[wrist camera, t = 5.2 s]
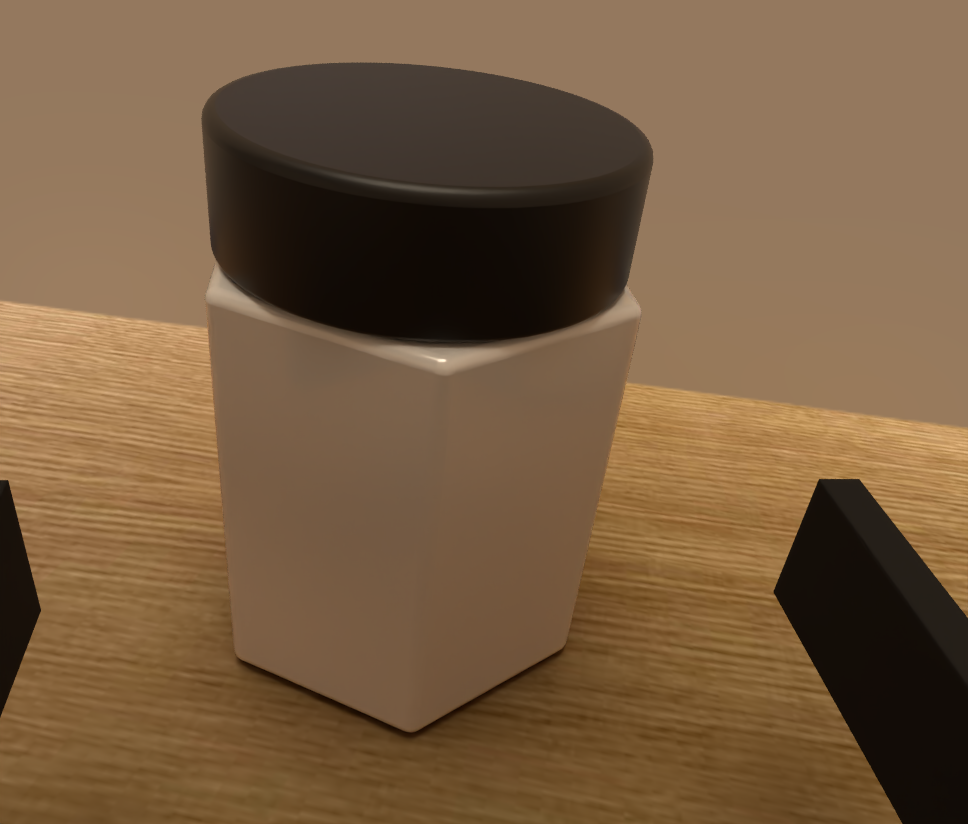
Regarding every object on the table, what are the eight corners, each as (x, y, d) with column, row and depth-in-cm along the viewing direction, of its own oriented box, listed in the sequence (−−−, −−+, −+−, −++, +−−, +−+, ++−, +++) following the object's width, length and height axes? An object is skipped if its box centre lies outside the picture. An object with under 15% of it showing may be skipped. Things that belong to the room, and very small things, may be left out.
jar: (609, 549, 24) (716, 116, 18) (504, 787, 18) (611, 244, 11) (332, 452, 27) (335, 38, 20) (151, 631, 20) (69, 108, 14)
